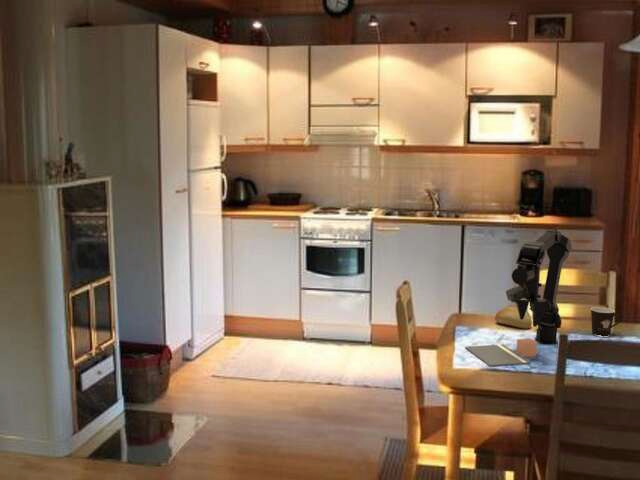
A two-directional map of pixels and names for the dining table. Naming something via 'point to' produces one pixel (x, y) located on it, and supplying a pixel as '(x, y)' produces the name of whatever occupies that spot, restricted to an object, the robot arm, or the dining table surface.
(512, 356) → the mat
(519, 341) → the terracotta block
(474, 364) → the dining table surface
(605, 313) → the coffee mug
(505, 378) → the dining table surface
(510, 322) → the bread roll
